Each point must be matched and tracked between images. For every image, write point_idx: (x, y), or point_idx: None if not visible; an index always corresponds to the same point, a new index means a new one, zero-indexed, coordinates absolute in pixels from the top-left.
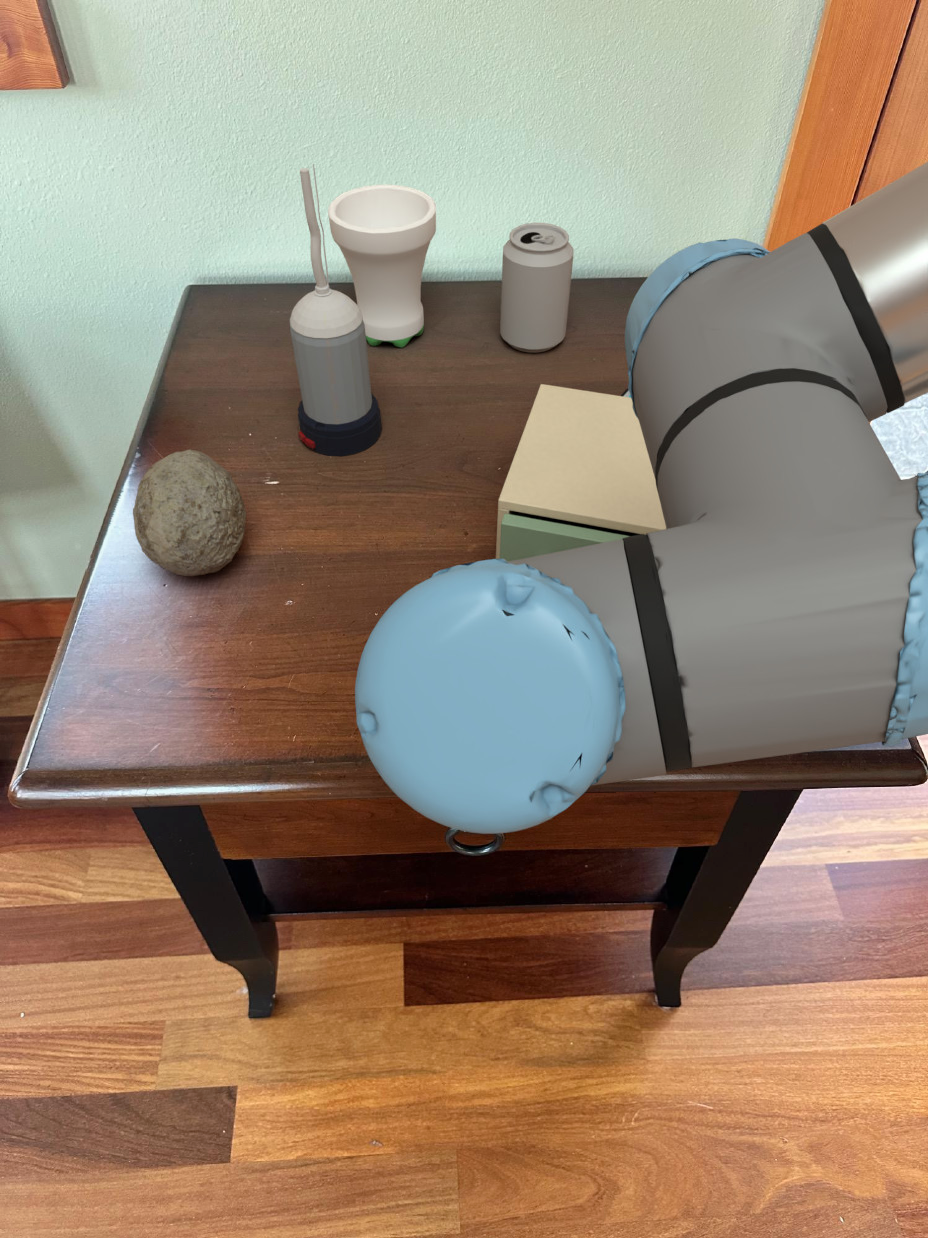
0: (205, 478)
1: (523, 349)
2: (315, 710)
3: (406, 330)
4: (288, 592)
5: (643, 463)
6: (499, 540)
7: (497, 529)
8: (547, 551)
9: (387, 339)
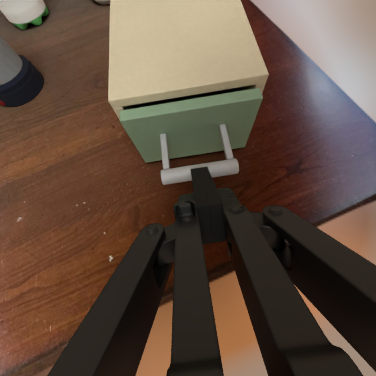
0: None
1: (106, 2)
2: (58, 298)
3: (34, 11)
4: (16, 211)
5: (209, 27)
6: None
7: None
8: (165, 128)
9: (27, 21)
